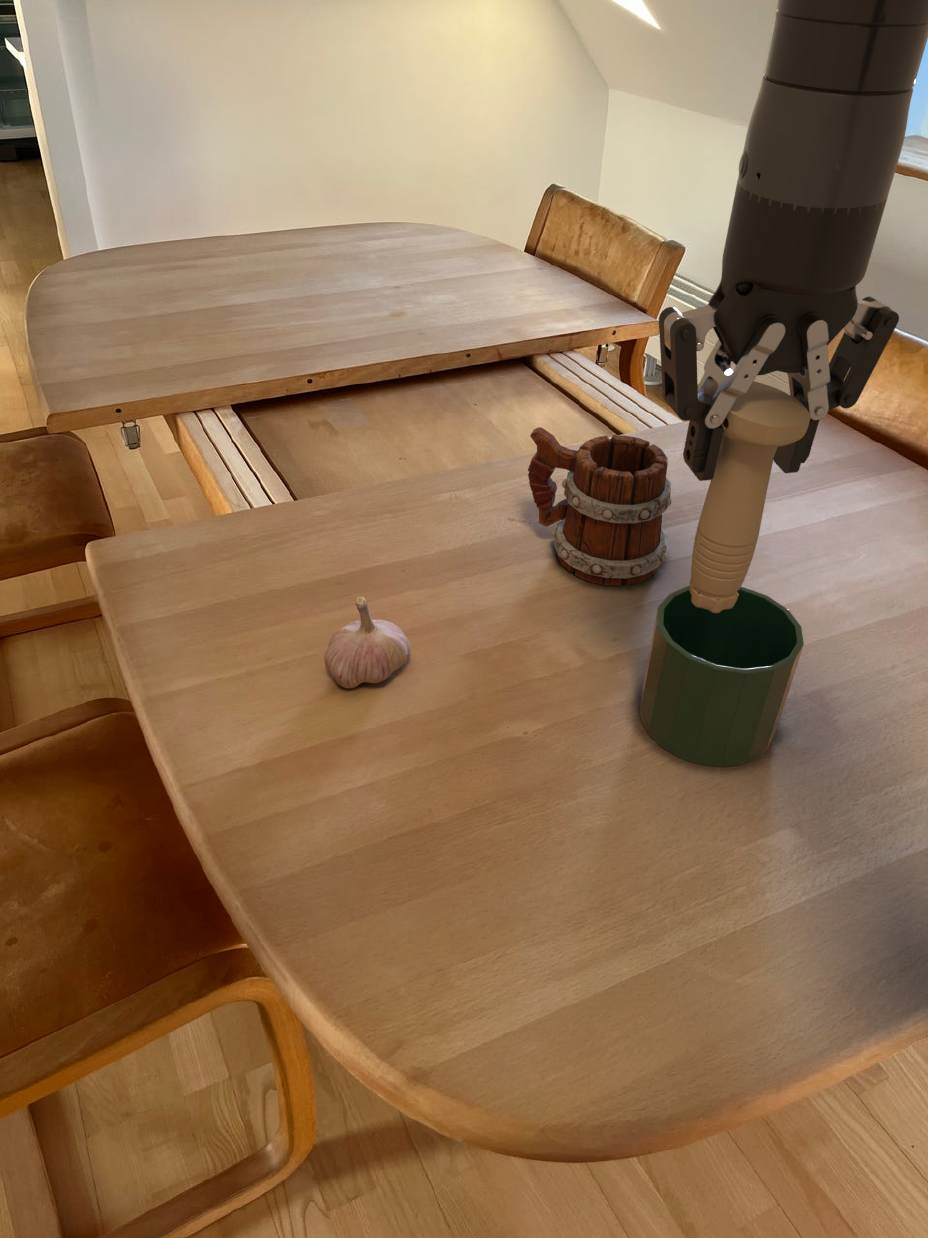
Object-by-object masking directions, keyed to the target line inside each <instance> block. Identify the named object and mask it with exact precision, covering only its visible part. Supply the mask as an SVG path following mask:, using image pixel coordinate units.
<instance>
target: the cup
mask: <svg viewBox="0 0 928 1238" xmlns="http://www.w3.org/2000/svg"><path fill="white" fill-rule="evenodd" d="M737 593H738V594H739V596H738V598H737V601H736V603H735V604H734V606H733V607H732V608H731V609H725V610H722V611H720V613H712V612H711V611H709V610H707V609H704V608H700V607H699V608H698V607H696V606H695V605H694V604H693V603H692V601H691V599H692V594H691V593H690V584H689V585H686V586H684V587H682V588H680V589H677V590H675V591H672V592H670V593H668V595H667V596H666V597H665V598H664V599H663V601H662V602H661V603H660V604H659V605H658V607H657V610H656V614H655V620H654V625H653V631H652V636H651V640H650V646H649V652H648V656H647V657H648V658H647V662H646V666H645V667H646V668H645V672H644V677H643V682H642V683H643V684H642V689H641V696H640V704H639V716H640V720H641V723H642V725H643V727H644V729H645V731H646V733H647V734H648V735H649V737H650V738H651V739H652V740H653V742H655V743H656V744H657V745H658V746H659V747H661V748H662V749H664V750H665V751H666V752H668V753H669V754H671V755H673V756H675V757H677V758H679V759H681V760H683V761H687V762H690V763H693V764H696V765H701V766H705V767H706V766H707V767H713V768H714V767H715V768H727V767H735V766H736V767H737V766H741V765H744V764H747V763H750V762H752V761H755V760H756V759H758V758H759V757H760V756H761V755H763V754H764V753H765V752H766V751H767V750H768V748H769V747H770V746H771V744H772V740H773V738H774V735H775V733H776V732H777V730H778V726H779V723H780V720H781V717H782V714H783V711H784V707H785V705H786V701H787V698H788V695H789V692H790V689H791V686H792V682H793V679H794V677H795V674H796V671H797V667H798V664H799V661H800V658H801V655H802V652H803V649H804V645H805V643H804V636H803V635H804V634H803V628H802V626H801V624H800V623H799V621H798V620H797V619H796V618H795V616H794V615H793V613H791V610H789V609H788V608H787V607H785V606H784V605H782V604H781V603H779V602H778V601H776V600H774V599H773V598H772V597H770V596H768V595H767V594H764V593H762V592H758V591H756V590H753V589H751V588H748V587H744V586H741V587H740V589H739V590H738V591H737Z"/></svg>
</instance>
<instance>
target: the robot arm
mask: <svg viewBox="0 0 928 1238" xmlns="http://www.w3.org/2000/svg"><path fill="white" fill-rule="evenodd" d="M775 10H776V12H775V14H774V20H773V25H772V28H771V29H772V31H771V35H770V41H769V44H768V50H767V55H766V60H765V64H764V70H763V73H764V75H763V76H762V79H761V83H760V88H759V91H758V94H757V97H756V98H757V99H756V100H755V104H754V107H753V109H752V112H751V115H750V118H749V122H748V126H747V131H746V135H745V140H744V146H743V150H742V153H741V157H740V159H739V163H738V176H737V180H736V186H735V192H734V196H733V201H732V207H731V212H730V217H729V222H728V226H727V227H728V228H727V233H726V238H725V243H724V248H723V253H722V261H721V277H720V281H719V284H718V286H717V288H716V290H714V292H713V294H712V295H711V297H710V299H709V300H708V303H707V305H703V306H700V307H697V308H693V309H690V310H686V311H683V312H681V311H680V310H678V308H676V307H674V306H668V307H666V308H664V309H663V310H662V311H661V312H660V314H659V316H658V331H659V333H658V334H659V349H660V351H659V352H660V367H661V370H660V371H661V387H662V389H661V390H662V397H663V398H662V399H663V401H665V402H666V404H667V405H668V407H670V408H671V410H672V411H673V412H674V413H675V414H676V416H677V417H678V418H679V419H680V420H681V421H683V422H687V421H688V427H687V431H686V437H685V442H684V447H683V451H682V457H683V461H684V463H685V464H686V465H687V467H688V468H689V469H690V471H691V473H693V475H694V476H695V478H696V479H697V480H698V481H699V482H703V481H711V480H712V479H713V477H714V472H715V468H716V463H717V459H718V454H719V450H720V445H721V441H722V436H723V432H724V428H723V426H722V425H721V424H722V423H723V421H724V420H725V418H726V416H727V415H728V413H729V411H730V410H731V408H732V406H733V405H734V403H735V401H736V400H737V398H738V397H740V396H744V395H745V394H746V393H747V391H748V390H749V388H750V386H751V385H752V383H753V381H755V380H756V378H757V376H765V375H768V374H771V373H774V372H780V373H785V374H787V378H788V380H787V381H788V386H789V388H788V389H789V395H790V396H792V397H794V398H795V399H797V400H798V401H800V402H801V403H802V404H803V405H804V406H805V408H806V409H807V410H808V412H809V413H810V415H811V418H810V421H809V425H808V428H807V431H806V433H805V435H804V436H803V437H802V438H801V439H800V440H798V441H796V442H794V443H791V444H788V445H785V446H780V447H777V450H776V453H775V456H774V459H773V463H774V464H776V466H777V467H778V468H779V469H780V470H781V471H782V472H783V473H784V474H795V473H798V472H799V471H800V469H801V465H802V464H805V463H806V462H807V460H808V458H809V457H810V455H811V451H812V447H813V445H814V440H815V438H816V434H817V430H818V426H819V423H820V420H822V419H823V418H824V417H825V416H827V415H828V412H829V411H831V410H833V409H835V408H838V407H840V408H842V409H846V410H847V409H850V408H852V407H853V406H855V405H856V404H857V402H858V400H859V399H860V397H861V395H862V393H863V391H864V389H865V387H866V385H867V383H868V381H869V380H870V378H871V376H872V373H874V370H875V368H876V366H877V364H878V362H879V360H880V359H881V357H882V354H883V353H884V351H885V349H886V346H887V345H888V343H889V341H890V339H891V337H892V335H893V333H894V331H895V329H896V327H897V326H898V325H899V324H898V323H899V321H900V316H899V314H898V312H896V311H895V310H893V309H892V308H891V307H890V306H888V305H886V303H883V302H882V301H881V300H879V299H876V298H875V297H873V296H866V297H864V298H862V299H858V297H857V296H858V295H857V286H858V285H859V284H860V283H861V282H862V280H864V278H865V276H866V273H867V269H868V266H869V264H870V260H871V257H872V253H873V250H874V245H875V242H876V239H877V235H878V231H879V229H880V225H881V222H882V219H883V215H884V212H885V208H886V205H887V202H888V198H889V194H890V190H891V187H892V183H893V180H894V177H895V173H896V170H897V167H898V163H899V160H900V157H901V152H902V149H903V147H904V146H903V145H904V142H905V137H906V131H907V128H908V127H907V126H908V119H909V112H910V106H911V100H912V96H913V93H914V88H913V87H915V84H916V81H917V77H918V74H919V69H920V67H921V66H920V65H921V63H922V60H923V56H924V52H925V50H926V49H925V48H926V46H927V43H928V0H777V3H776V9H775ZM712 329H713V331H714V333H715V335H716V337H717V338H718V339H717V341H716V343H715V345H714V347H713V348H712V350H711V352H710V353H709V355H708V357H707V359H706V360H705V363H704V367H703V371H704V372H703V375H702V377H701V378H700V381H699V382H698V353H697V352H701V351H703V349H704V348H705V341H706V336H707V334H708V332H709V331H710V330H712ZM842 331H844V332H843V335H842V337H841V338H840V341H839V343H838V345H837V346H836V348H835V350H834V353H833V355H832V357H831V359H830V361H829V349H828V346H829V344H830V343H832V341H833V340H834V339H835V338H836V337H837V336H838V335H839V334H840V333H841V332H842ZM732 363H733V364H734V365H735V368H734V369H732V366H731V365H732Z"/></svg>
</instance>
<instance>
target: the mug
mask: <svg viewBox="0 0 928 1238" xmlns="http://www.w3.org/2000/svg"><path fill="white" fill-rule="evenodd" d="M530 438H531V440H532V441H533V442H534V444H535V445H536V452H535V454H534V455H533V456H532V457H531V461H530V463H529V465H528V468H527V471H528V474H527V478H528V484H529V487H530V491H531V492H532V493H531V494H532V497H533V503H534V504H536V508H537V509H538V523H539V524H540V525H541V526H544V527H546V528H548V527H550V526H552V525H554V524H556V523H557V526H556V528H554V529H553V530H552V532H551V536H552V538H554V541H553V546H554V548H555V551H556V554H557V557H558V560H559V561H560V564H561V565H562V566H563V568H565V569H566V570H567V571H568V572H570V573H571V574H573V573H574V576H576V577H577V578H579V579H581V580H583V581H586V582H589V583H593V584H597V585H600V586H601V585H602V586H617V587H620V586H621V585H622V583H624V585H625V586H628V585H634V584H639V583H641V582H643V581H645V580H646V579H648V578H650V577H652V576H653V575H654V574H655V573H656V572H657V570H658V569H659V567H660V566H661V564H662V563H663V562H664V561H665V560H666V559H667V538H668V534H667V532H666V531H664V529H663V527H662V522H663V514H664V513H665V511H666V510H667V509H668V508H669V507H671V505H672V503H673V500H672V498H671V496H672V483H671V480H669V479H668V477H667V473H668V464H669V458H668V456H667V454H666V453H665V452H664V450H663V449H662V448H661V447H659V446H658V445H656V444H654V443H653V444H651V443H650V442H649V441H648V440H645V439H642V438H640V437H637V436H636V437H635V436H631V435H625V434H624V435H623V434H620V435H619V434H618V435H617V434H613V435H612V436H611V437H610V438H609V436H608V435H602V436H596V437H594V438H591V439H589V440H585V442H583V443H582V444H581V445H580V446H579V447H578V450H576V449H570V448H568V447H565V446H563V445H561V444H560V442H559V441H558V440H557V438H556V437H555V435H553V434H552V433H550V432H549V431H548V430H546V429H545V428H543V427H542V426H539V427H536V428H534V429H533V430H532V431H531V433H530ZM650 444H651V445H650ZM556 469H562V470H566V471H568V472H567V475H566V479H563V480H562V482H561V486H562V488H563V489H564V490H563V495H564V497H565V498H564V499H562V500H560V501H559V502H557V503H556V504H555V501H556V493H557V491H558V485H557V483H556V481H553V478H551V477H552V475H553V473H554V472H555V470H556ZM554 504H555V505H554Z"/></svg>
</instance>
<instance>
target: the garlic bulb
mask: <svg viewBox="0 0 928 1238" xmlns="http://www.w3.org/2000/svg"><path fill="white" fill-rule="evenodd" d="M354 602H355V603H354V604H355V606H356V609H357V611H358V613H359V616H360V619H359V620H353V621H350V622H348V623H346V624H345V625H344V626H343V627H341V628H339V629H338V630H337V631H335V632H334V633H333V634H332V636H331V637H330V639H329V642H328V647H327V649H326V651H325V654H324V666H325V668H326V670H327V671H328V672H329V673H330V674H331V675H332V676H333V678H334V680H335V682H336V683H337V684H338V685H339V686H340V687H342V688H345V689H354V688H356V687H358V686H359V685H361V684H363V683H370V684H378V683H381V682H384V681H386V680H387V679H388V678H389V677H390V676H391V675H392V673H394V672H395V671H396V670H399V669H400V668H401V667H402V666H403V665H404V664H405V663H406V662H407V661H408V660H409V658H410V656H411V653H412V652H411V651H412V646H411V643H410V641H409V639H408V637H407V636H406V635H405V634H404V631H403V630H402V629H401V628H400V627H399V626H398V625H397V624H395V623H393V622H390V621H388V620H385V619H372V616H371V614H370V613H371V612H370V609H369V604H368V602H367V600H366V598H365V597H364V596H357V598H355V601H354Z"/></svg>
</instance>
